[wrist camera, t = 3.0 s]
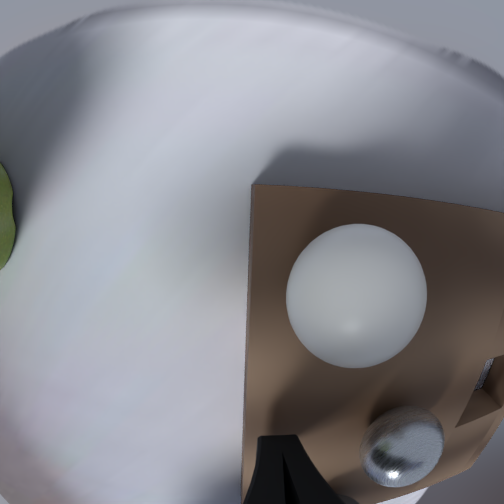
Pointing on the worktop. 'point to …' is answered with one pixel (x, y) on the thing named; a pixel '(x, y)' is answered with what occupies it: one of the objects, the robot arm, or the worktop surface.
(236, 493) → the worktop surface
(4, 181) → the plant pot
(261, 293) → the board
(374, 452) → the steel ball
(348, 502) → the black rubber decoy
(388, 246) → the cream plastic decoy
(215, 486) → the worktop surface
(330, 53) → the worktop surface
